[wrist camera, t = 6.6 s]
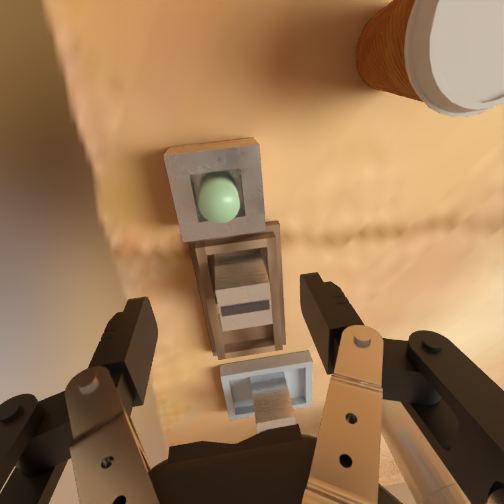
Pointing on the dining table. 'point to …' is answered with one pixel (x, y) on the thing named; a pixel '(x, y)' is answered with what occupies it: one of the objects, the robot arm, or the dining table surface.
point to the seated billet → (242, 290)
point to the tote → (239, 373)
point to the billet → (272, 401)
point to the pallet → (204, 265)
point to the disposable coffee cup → (437, 53)
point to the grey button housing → (216, 161)
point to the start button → (218, 198)
